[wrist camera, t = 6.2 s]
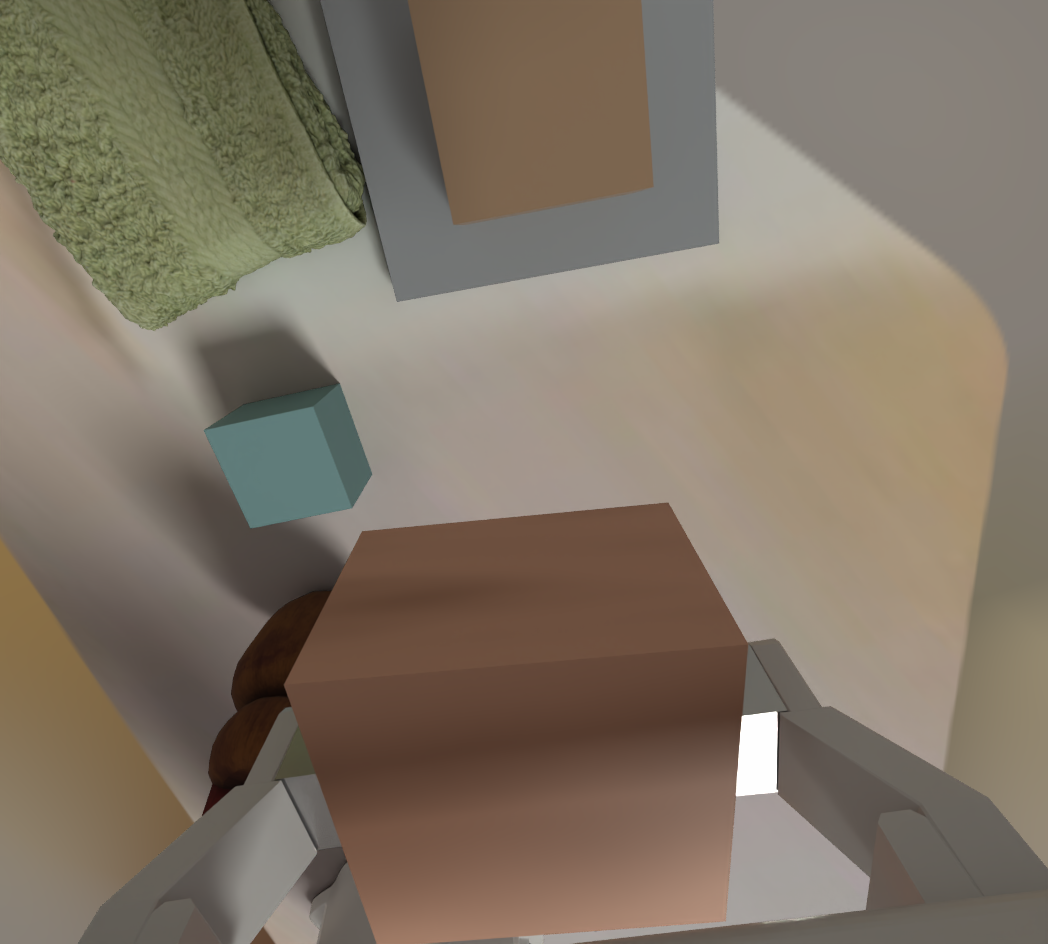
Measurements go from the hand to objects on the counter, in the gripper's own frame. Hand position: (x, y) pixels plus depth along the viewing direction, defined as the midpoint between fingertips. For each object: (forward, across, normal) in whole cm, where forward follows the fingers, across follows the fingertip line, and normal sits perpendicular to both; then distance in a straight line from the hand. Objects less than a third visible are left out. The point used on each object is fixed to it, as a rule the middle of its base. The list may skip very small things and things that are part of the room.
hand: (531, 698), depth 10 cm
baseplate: (+19, +2, +12) cm, 22 cm away
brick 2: (+2, 0, 0) cm, 2 cm away
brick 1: (+19, -11, 0) cm, 22 cm away
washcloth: (+19, -13, +16) cm, 28 cm away
